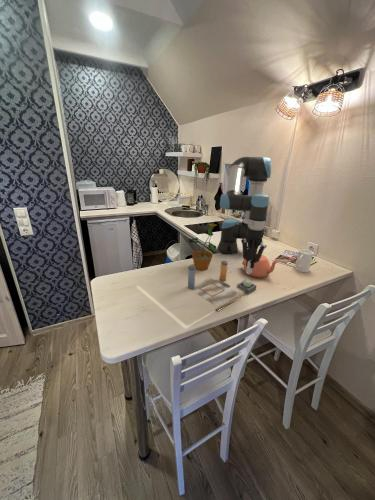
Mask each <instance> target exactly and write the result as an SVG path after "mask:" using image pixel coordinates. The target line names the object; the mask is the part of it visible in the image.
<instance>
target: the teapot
mask: <svg viewBox="0 0 375 500" xmlns="http://www.w3.org/2000/svg"><path fill="white" fill-rule="evenodd" d="M246 261H247V260H246V259H244V258H243V261H242V265H243V267H242V268H243V270H244V272H245V273H246V270H247V266H246ZM278 262H280V260H273V261H272V263H270V261H269V259H268V257H267V256H265V255H263V254H262V255H261V257H260V260H259V261H258V262H256V263H255V264H254V268H252V273H250V274H247V275H249V276H250V277H253V278H265V277H267V276H268V275H270V274H271V273H273V272H274V271H275V267H276V264H277V263H278Z"/></svg>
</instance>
